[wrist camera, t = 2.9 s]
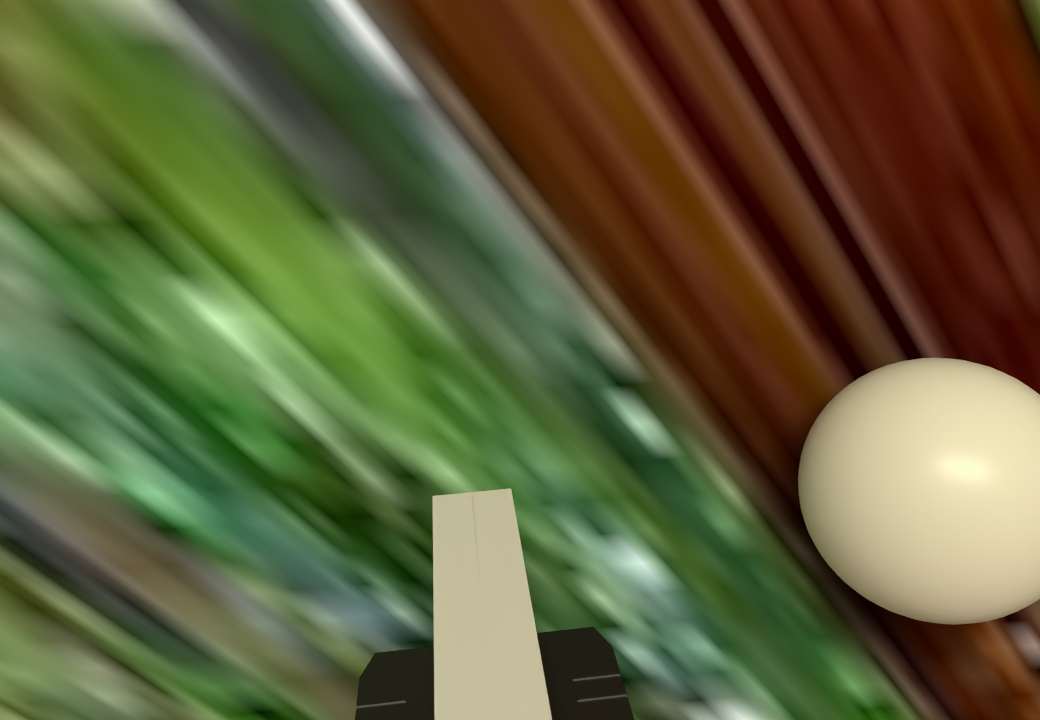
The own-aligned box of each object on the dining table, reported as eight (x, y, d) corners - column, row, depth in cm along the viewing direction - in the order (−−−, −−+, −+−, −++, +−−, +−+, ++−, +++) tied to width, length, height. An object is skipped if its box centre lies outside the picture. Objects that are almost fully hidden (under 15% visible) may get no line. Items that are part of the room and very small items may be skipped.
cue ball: (999, 313, 19) (1199, 414, 14) (965, 517, 22) (1129, 669, 16) (767, 332, 19) (888, 442, 14) (755, 538, 21) (856, 699, 16)
